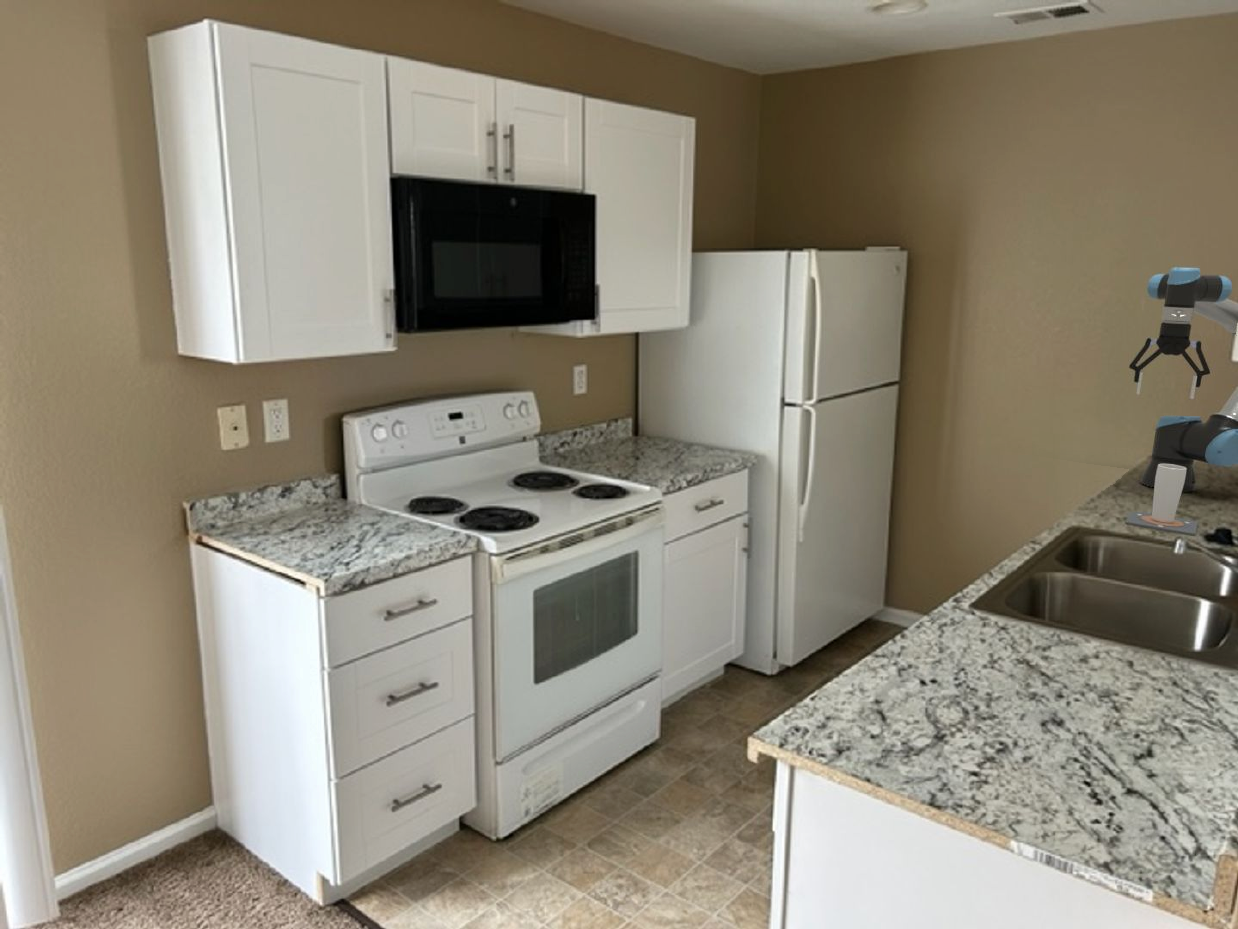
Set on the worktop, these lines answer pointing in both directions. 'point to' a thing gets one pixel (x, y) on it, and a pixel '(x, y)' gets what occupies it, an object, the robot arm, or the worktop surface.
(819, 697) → the worktop surface
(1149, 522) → the coaster mat
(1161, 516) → the drinking glass
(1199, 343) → the robot arm
